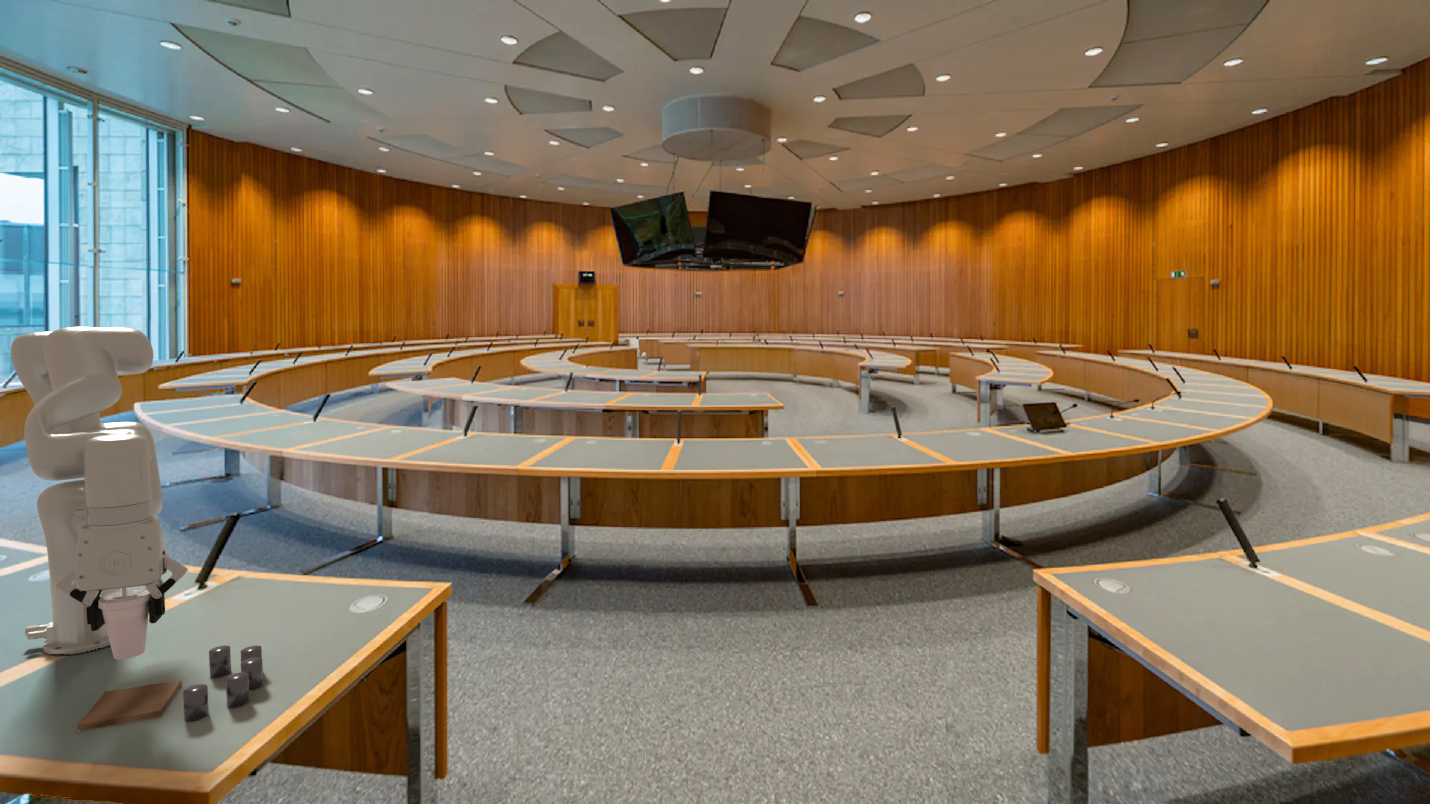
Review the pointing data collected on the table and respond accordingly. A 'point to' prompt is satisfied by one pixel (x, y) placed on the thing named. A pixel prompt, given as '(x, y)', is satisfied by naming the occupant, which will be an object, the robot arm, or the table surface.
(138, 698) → the walnut pad
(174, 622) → the table surface
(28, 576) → the table surface
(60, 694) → the table surface
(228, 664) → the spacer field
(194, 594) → the table surface
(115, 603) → the smoothie
